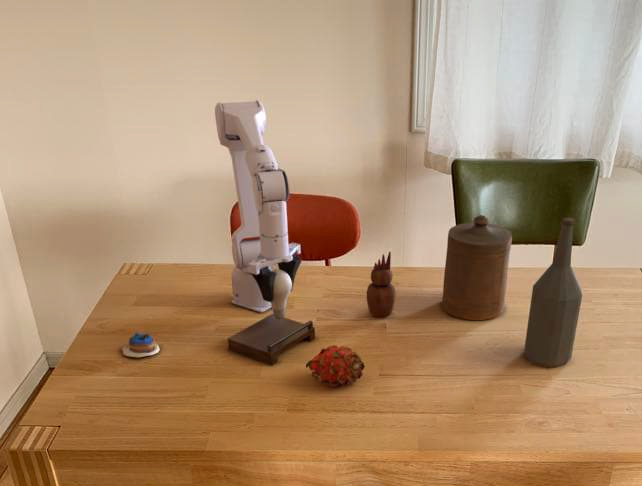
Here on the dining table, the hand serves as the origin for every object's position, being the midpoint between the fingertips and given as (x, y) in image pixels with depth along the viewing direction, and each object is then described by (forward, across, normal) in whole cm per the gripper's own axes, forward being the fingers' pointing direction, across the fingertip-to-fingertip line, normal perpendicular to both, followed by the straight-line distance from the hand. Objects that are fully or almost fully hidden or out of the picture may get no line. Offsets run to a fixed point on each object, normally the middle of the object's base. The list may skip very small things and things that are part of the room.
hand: (277, 295), depth 169 cm
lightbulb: (+6, 0, 0) cm, 6 cm away
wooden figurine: (+11, +24, -11) cm, 28 cm away
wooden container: (+11, +40, -27) cm, 49 cm away
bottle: (+11, +26, -52) cm, 59 cm away
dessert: (+11, -21, +21) cm, 32 cm away
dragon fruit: (+11, -8, -21) cm, 25 cm away
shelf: (+10, -3, 0) cm, 11 cm away
